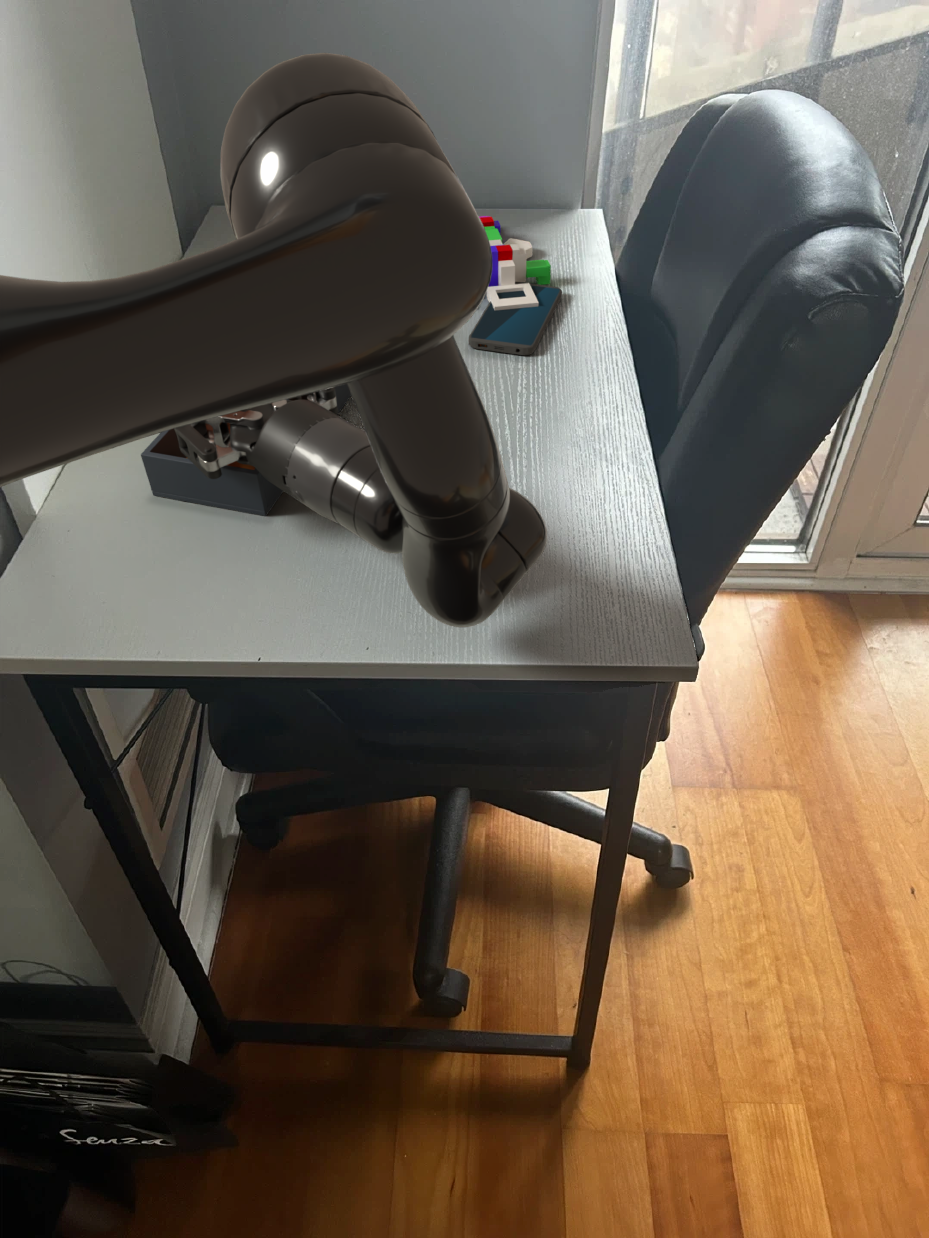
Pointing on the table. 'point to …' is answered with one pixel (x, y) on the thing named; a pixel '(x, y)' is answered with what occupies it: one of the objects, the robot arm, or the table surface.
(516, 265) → the building block set
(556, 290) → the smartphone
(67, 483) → the table surface
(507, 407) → the table surface
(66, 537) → the table surface
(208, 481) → the gray storage bin
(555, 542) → the table surface
